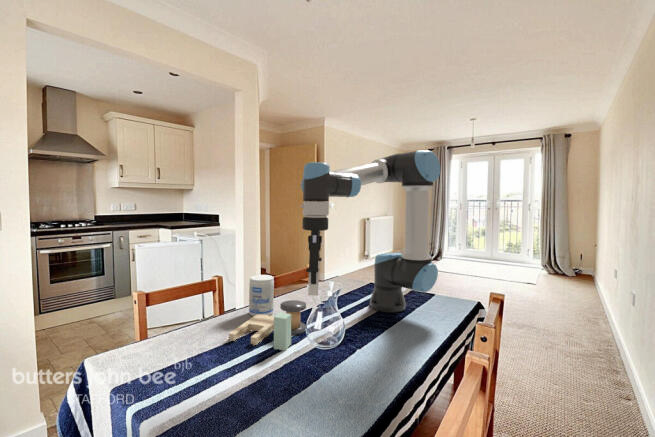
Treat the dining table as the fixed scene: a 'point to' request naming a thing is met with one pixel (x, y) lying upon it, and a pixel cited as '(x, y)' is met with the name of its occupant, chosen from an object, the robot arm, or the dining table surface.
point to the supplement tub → (261, 295)
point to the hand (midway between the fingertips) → (314, 288)
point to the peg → (282, 331)
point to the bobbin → (295, 315)
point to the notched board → (255, 328)
